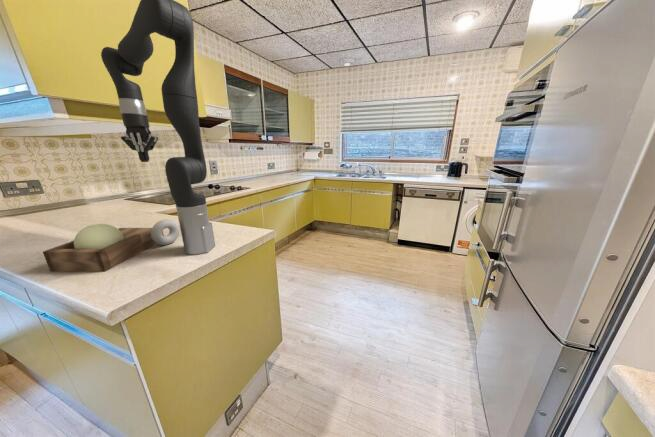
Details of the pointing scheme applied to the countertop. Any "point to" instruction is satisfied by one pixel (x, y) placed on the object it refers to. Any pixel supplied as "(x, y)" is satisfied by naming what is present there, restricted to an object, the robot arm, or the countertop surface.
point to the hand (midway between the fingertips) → (145, 161)
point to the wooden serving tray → (99, 252)
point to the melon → (97, 236)
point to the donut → (159, 227)
